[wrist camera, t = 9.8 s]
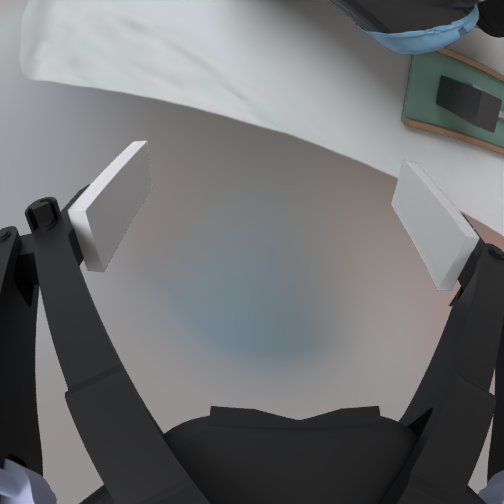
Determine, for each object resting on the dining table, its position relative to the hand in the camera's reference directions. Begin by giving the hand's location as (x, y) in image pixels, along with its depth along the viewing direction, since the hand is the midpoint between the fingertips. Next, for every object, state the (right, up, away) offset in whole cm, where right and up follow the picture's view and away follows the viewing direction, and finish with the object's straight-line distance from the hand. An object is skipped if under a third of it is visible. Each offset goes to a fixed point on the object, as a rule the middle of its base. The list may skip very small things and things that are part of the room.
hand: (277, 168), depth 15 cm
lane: (+36, +21, +22) cm, 47 cm away
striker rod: (+38, +20, +21) cm, 48 cm away
